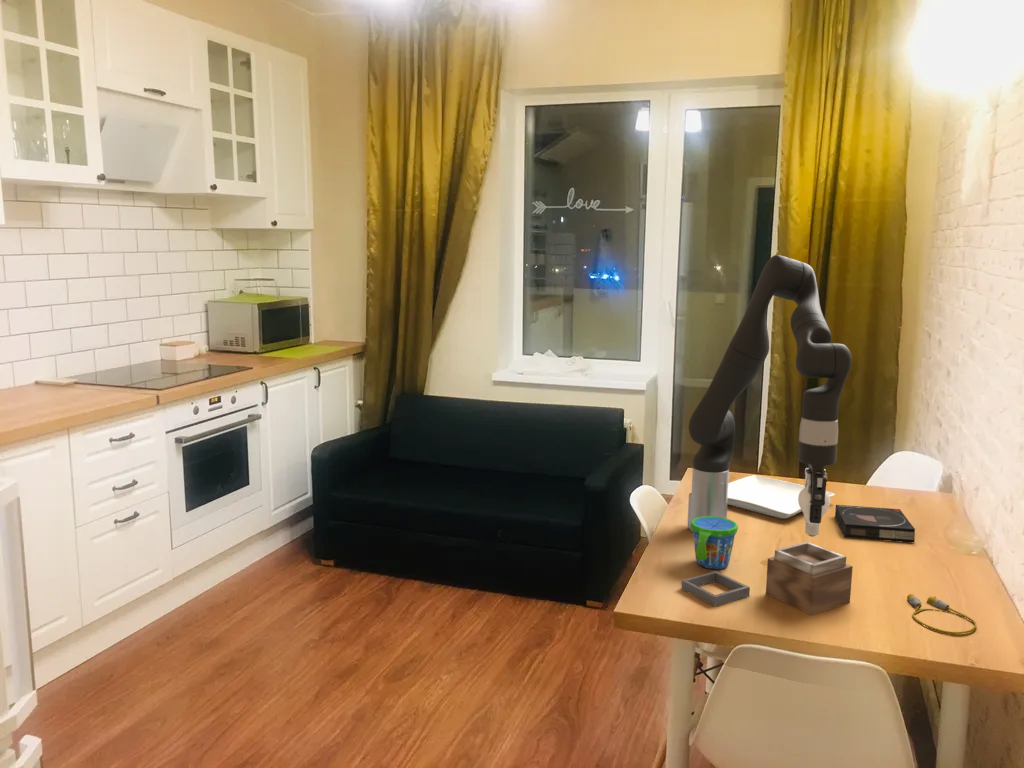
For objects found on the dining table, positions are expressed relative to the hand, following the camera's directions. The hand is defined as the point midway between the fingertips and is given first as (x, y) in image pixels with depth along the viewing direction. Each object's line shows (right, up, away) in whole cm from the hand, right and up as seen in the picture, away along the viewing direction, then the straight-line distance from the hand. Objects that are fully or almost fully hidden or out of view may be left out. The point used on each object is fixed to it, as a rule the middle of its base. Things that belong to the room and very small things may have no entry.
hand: (813, 516), depth 169 cm
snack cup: (-16, -15, +21) cm, 30 cm away
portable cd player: (+33, -11, +45) cm, 57 cm away
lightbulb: (0, -4, +1) cm, 4 cm away
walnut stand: (0, -18, +3) cm, 18 cm away
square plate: (+12, -7, +68) cm, 69 cm away
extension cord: (+24, -20, -6) cm, 32 cm away
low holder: (-19, -17, +6) cm, 26 cm away
